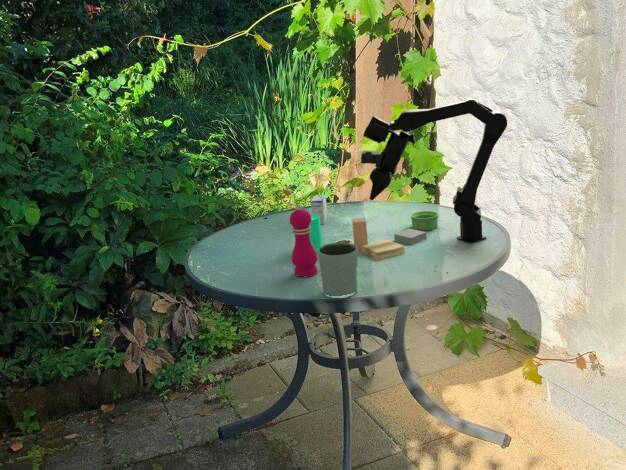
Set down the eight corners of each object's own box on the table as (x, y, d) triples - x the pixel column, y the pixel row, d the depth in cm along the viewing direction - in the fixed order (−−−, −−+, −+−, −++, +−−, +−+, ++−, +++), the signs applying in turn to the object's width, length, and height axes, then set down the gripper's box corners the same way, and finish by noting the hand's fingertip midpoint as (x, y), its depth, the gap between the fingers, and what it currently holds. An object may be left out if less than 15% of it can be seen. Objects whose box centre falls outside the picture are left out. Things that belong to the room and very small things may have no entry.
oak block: (404, 254, 199) (404, 246, 198) (378, 261, 195) (377, 253, 194) (388, 247, 207) (387, 239, 206) (362, 253, 203) (362, 245, 202)
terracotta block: (367, 245, 208) (365, 217, 206) (368, 249, 205) (366, 221, 202) (354, 246, 208) (352, 218, 206) (354, 250, 205) (352, 222, 202)
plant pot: (330, 284, 180) (326, 241, 176) (366, 286, 176) (362, 242, 172) (315, 299, 171) (311, 254, 168) (353, 301, 167) (349, 255, 164)
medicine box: (315, 218, 244) (313, 195, 241) (327, 218, 243) (325, 194, 240) (312, 225, 236) (310, 201, 234) (325, 224, 235) (323, 200, 233)
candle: (323, 246, 212) (320, 209, 209) (321, 252, 206) (318, 214, 203) (304, 247, 213) (301, 210, 209) (302, 253, 207) (298, 215, 204)
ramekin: (426, 221, 227) (426, 209, 226) (444, 227, 220) (444, 214, 219) (405, 227, 223) (404, 214, 222) (423, 233, 216) (422, 219, 214)
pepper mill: (299, 280, 185) (291, 209, 179) (289, 272, 192) (282, 204, 186) (323, 274, 188) (316, 204, 182) (312, 267, 194) (306, 199, 188)
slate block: (426, 239, 210) (426, 232, 209) (411, 245, 206) (411, 237, 205) (409, 236, 215) (409, 228, 214) (394, 241, 211) (394, 234, 210)
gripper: (373, 134, 211) (354, 178, 217) (365, 144, 194) (343, 192, 200) (406, 148, 211) (385, 192, 216) (400, 160, 193) (378, 208, 199)
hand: (372, 195), depth 208 cm, fingers open, 9 cm apart
